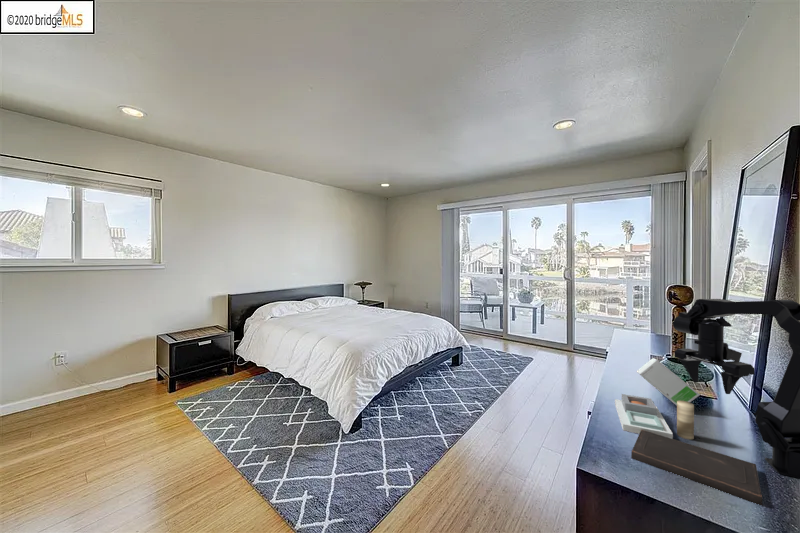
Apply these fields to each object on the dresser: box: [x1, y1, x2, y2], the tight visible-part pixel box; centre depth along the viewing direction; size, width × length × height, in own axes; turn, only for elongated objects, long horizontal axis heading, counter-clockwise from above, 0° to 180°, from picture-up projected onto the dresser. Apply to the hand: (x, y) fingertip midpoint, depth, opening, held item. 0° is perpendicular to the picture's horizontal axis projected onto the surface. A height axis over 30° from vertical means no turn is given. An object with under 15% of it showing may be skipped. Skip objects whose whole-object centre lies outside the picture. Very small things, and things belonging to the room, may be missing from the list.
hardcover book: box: [630, 430, 763, 506], centre depth 81 cm, size 16×23×2 cm
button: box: [630, 401, 646, 405], centre depth 106 cm, size 4×4×1 cm
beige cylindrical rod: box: [676, 401, 695, 441], centre depth 93 cm, size 4×4×10 cm
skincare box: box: [636, 357, 701, 407], centre depth 113 cm, size 8×7×16 cm
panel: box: [614, 393, 674, 439], centre depth 103 cm, size 20×12×5 cm, turn 151°
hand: (711, 387), depth 97 cm, fingers open, 9 cm apart
